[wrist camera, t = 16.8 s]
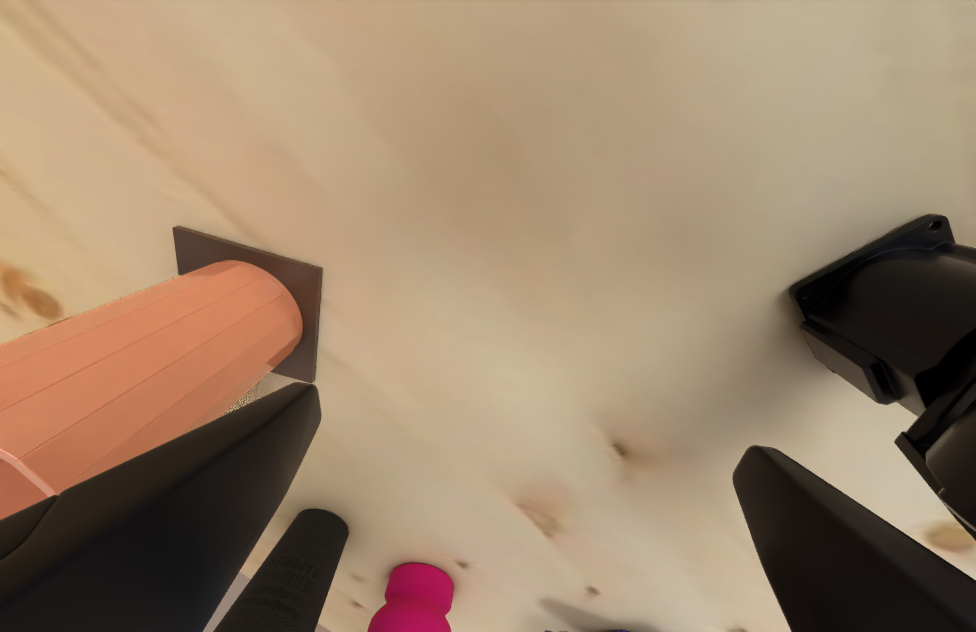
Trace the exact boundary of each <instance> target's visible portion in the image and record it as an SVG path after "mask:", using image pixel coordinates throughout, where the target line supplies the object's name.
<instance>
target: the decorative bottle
mask: <svg viewBox="0 0 976 632" xmlns="http://www.w3.org/2000/svg"><path fill="white" fill-rule="evenodd" d="M545 632H551V631H547V630H546V631H545ZM560 632H567V631H560ZM615 632H628V631H625V630H620V631H615Z"/></svg>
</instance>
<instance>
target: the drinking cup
mask: <svg viewBox="0 0 976 632" xmlns="http://www.w3.org/2000/svg"><path fill="white" fill-rule="evenodd" d="M348 534H349V531H348V527H347V525H346V524H345V522H344V521H343V520H342V519H341V518H339V517H338V516H336V515H335V514H333V513H330V512H328V511H324V510H320V509H308V510H305V511H302V512H301V513H299V514H298V515H297V517H296V518H295V519H294V521H293V522H292V524H291V525H290V526H289V528H288V529H287V530H286V532H285V533H284V535H283V536H282V537H281V539H280V540H279V542H278V543H277V544H276V546H275V547H274V548H273V550H272V551H271V553H270V554H269V555H268V557H267V558H266V560H265V561H264V562H263V564H262V565H261V566H260V568H259V569H258V571H257V572H256V573H255V575H254V576H253V577H252V579H251V580H250V582H249V583H248V584H247V586H246V587H245V589H244V590H243V591H242V593H241V594H240V595H239V597H238V598H237V600H236V601H235V602H234V604H233V605H232V606H231V608H230V609H229V611H228V612H227V613H226V615H225V616H224V618H223V619H222V620H221V622H220V623H219V625H218V626H217V627H216V629H215V630H214V631H213V632H314V631H315V628H316V625H317V623H318V620H319V617H320V614H321V611H322V608H323V606H324V603H325V600H326V597H327V594H328V591H329V589H330V586H331V583H332V580H333V577H334V574H335V571H336V569H337V566H338V563H339V560H340V557H341V554H342V552H343V549H344V546H345V543H346V540H347V537H348Z"/></svg>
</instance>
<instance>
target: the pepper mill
mask: <svg viewBox="0 0 976 632" xmlns="http://www.w3.org/2000/svg"><path fill="white" fill-rule="evenodd" d="M453 591H454V584H453V582H452V580H451V578H450V577H449V576H448V575H447V574H446V573H444V572H443V571H442V570H440V569H438V568H435V567H433V566H430V565H426V564H419V563H411V564H404V565H401V566H399V567H397V568H396V569H394V570H393V572H392V573H391V575H390V578H389V581H388V585H387V588H386V591H385V599H386V602H387V603H386V604H385V605H384V606H383V607H382V608H381V609H379V610H378V611H377V612H376V614H375V615H374V616H373V618H372V619H371V622H370V624H369V627H368V631H367V632H451V629H450V626H449V623H448V621H447V619H446V617H445V615H446V614H447V613H448V612H449V611H450V609H451V604H452V598H453Z"/></svg>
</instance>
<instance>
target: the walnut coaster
mask: <svg viewBox="0 0 976 632" xmlns="http://www.w3.org/2000/svg"><path fill="white" fill-rule="evenodd" d="M173 235H174V242H175V250H176V258H177V265H178V273H179V275H181V274H184V273H187V272H189V271H192V270H194V269H197V268H200V267H203V266H206V265H209V264H211V263H214V262H217V261H222V260H237V261H243V262H247V263H250V264H253V265H255V266H257V267H260V268H262V269H263V270H265V271H267V272H268V273H270V274H271V275H273V276H274V277H275V278H276V279H278V280H279V281H280V282H281V283H282V284H283V285H284V286H285V287H286V288H287V289H288V291H289V292H290V293H291V295H292V296H293V298H294V299H295V301H296V303H297V305H298V307H299V310H300V313H301V316H302V322H303V332H302V336H301V339H300V342H299V344H298V345H297V347H296V348H295V349H294V350H293V351H292V352H291V353H290V354H289V355H288V356H287V357H286V358H285V359H284V360H282V361H281V362H280V363H279V364H278V365H277V366H276V367H275V368H274V369H273V370H271V371H270V372H273V373H277V374H280V375H284V376H287V377H291V378H294V379H298V380H302V381H305V382H309V383H313V381H314V380H315V369H316V354H317V340H318V325H319V311H320V296H321V282H322V268H319V267H316V266H312V265H309V264H306V263H302V262H299V261H295V260H292V259H289V258H285V257H282V256H278V255H275V254H272V253H268V252H265V251H261V250H258V249H255V248H251V247H248V246H244V245H241V244H238V243H234V242H231V241H227V240H224V239H221V238H217V237H214V236H210V235H207V234H204V233H200V232H197V231H193V230H190V229H187V228H183V227H180V226H177V227H173Z"/></svg>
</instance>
